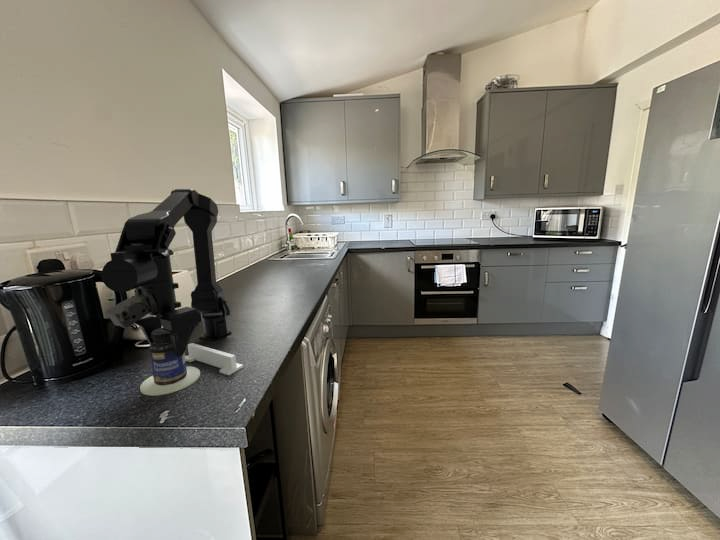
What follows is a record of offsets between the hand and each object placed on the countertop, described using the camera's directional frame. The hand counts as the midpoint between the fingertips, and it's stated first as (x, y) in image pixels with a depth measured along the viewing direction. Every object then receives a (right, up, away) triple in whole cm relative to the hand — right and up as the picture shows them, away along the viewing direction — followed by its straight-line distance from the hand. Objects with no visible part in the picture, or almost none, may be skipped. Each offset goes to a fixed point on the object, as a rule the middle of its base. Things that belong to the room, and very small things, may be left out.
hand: (167, 352), depth 63 cm
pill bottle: (0, -6, +1) cm, 6 cm away
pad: (0, -7, +1) cm, 7 cm away
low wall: (+5, -5, +8) cm, 11 cm away
